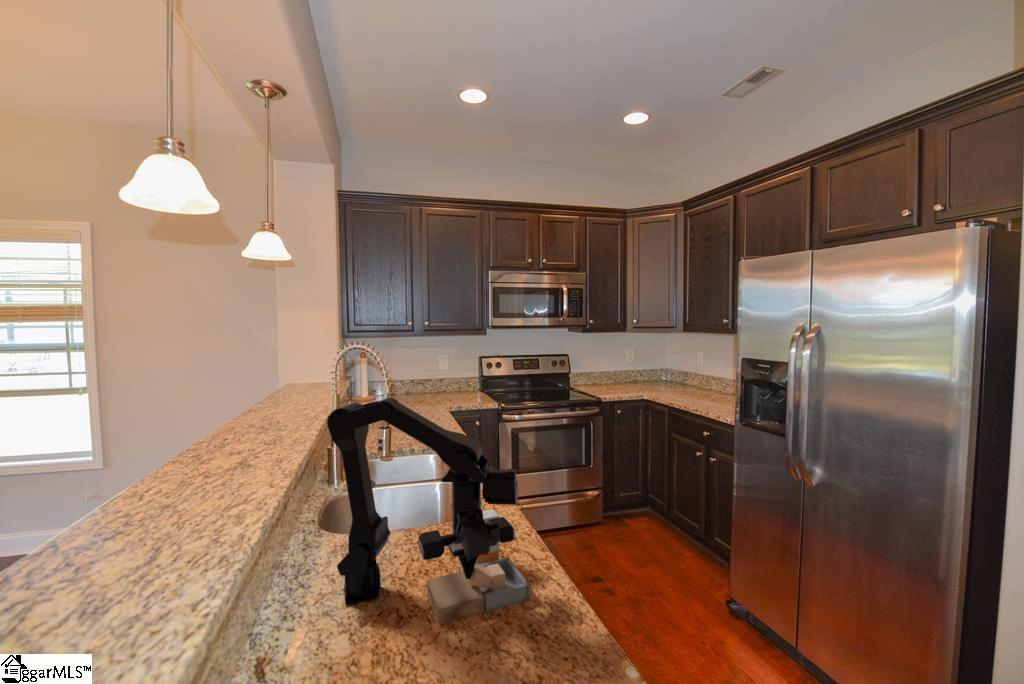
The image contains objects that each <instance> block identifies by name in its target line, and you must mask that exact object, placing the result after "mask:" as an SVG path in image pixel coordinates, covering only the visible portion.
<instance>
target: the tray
mask: <svg viewBox="0 0 1024 684" xmlns="http://www.w3.org/2000/svg"><path fill="white" fill-rule="evenodd" d="M493 564H499V566H500V567H501V569H502V570H503V571H504V573H505V589H502V590H499V591H495V592H491V591H490V589H489V588H488V589H484V588H481V587H479V589H480V590H481V592H482V594H483V596H484V612H486V613H490V611H491V612H493V611H497V610H500V608H501V609H504V608H507V607H511V606H514V605H518V604H520V603H523V602H527V601H530V583H529V582H528V581H527V580H526V578H525V577H524V576H523V575H522V573H521V571H520V570H519V569H518V568H517V566H516V565H515V564H514V563H513V562H512V560H511V559H510V558H509V557H504V558H499V560H495V561H491V562H487V563H483V564H479V565H481V566H484V567H487V566H488V565H493Z"/></svg>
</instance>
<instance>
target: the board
mask: <svg viewBox="0 0 1024 684" xmlns="http://www.w3.org/2000/svg"><path fill="white" fill-rule="evenodd" d="M426 594H427V597H428V599H429V602H430V605H431V608H432V611H433V614H434V616H435V618H436V619H435V620H436V621H437V625H438V626H439V625H443V624H447V623H450V622H454V621H457V620H461V619H465V618H468V617H471V616H473V615H478V614H481V613H483V612H485V609H484V596H483V594H482V592H481V590H480V589H479V587H477V586H473V585H471V584H470V582H469V580H468V579H466V577H465V575H464V572H463V570H461V571H457V572H456V571H455V572H452V573H449V574H444V575H441V576H437V577H432V578H428V579H426ZM477 613H478V614H477Z"/></svg>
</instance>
